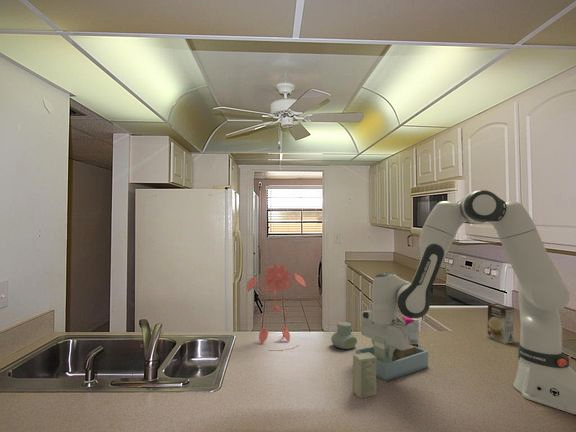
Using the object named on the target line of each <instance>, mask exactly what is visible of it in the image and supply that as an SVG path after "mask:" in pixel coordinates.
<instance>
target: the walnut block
mask: <svg viewBox="0 0 576 432" xmlns="http://www.w3.org/2000/svg"><path fill="white" fill-rule="evenodd" d="M416 347H417V346H413V345H410V344H409V348H408V349H406V350H403V351H401V350H398V349H395V350H394V352H393V357H392V361H396V360H399V359H402V358H405V357H408V356H411V355H414V354H416Z"/></svg>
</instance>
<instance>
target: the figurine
mask: <svg viewBox="0 0 576 432" xmlns="http://www.w3.org/2000/svg"><path fill="white" fill-rule="evenodd" d="M266 271H267V273H265V274H264V275H263V279H264V281H263V286H264V287H269V288H267V289H264V288H263V286H262V285H261V284H260V283H259V282H258V280H257V278H256V276H253V277H251V278H250V279H249V280H248V281H247V284H246V289H247V292H250V291H251V290H252V289H254V288H255V286H256V283H257V285H258V286H259V287H260V288H261V290H262V291H263V292H267V291H270V292H271V293H273V299H274V304H275V306H273V308H272V309H271V310H270V311H268V312H264V313H263V314H262V317H263V319H262V320H263V322H265V315H266V314H269V313H271V312H273V311H274V312H275V313H277V312H282V313H284V314H285V316H287V312H286V311H283V310H281V309H280V307H279V306H278V304H277V301H276V292H279V293H281V292H282V290H289V288H290V287H291V284H292V283H293V281H294V279H295V281H296V282H297V283H298V284H299V285H301V286H303V287H304V288H306V287H307V286H306V281H305V280H304V278H303V277H302V276H301V275H300V274H298V273H296V272H294V273H293V276H291V275H290V272H291V270H290V269H286V266H285V264H284V263H281V264H280V265H277V264H273V266H267V267H266ZM288 282H289V283H288ZM284 318H285V319H284V320H285V321H284V326H283V327H282V329H281V331H282V333H281V334H282V337H281V338H282V339H285V340H286V341H287V342H290V341H291V340H290V339H291V333H290V331H289V329H288V328H287V327H286V326H287V317H284ZM265 324H266V323H263V328H261V330H259V333H258V340H259V342H260V344H264V343H265V341H266V340H267V339H268V336H269V330H268V328H266V327H265ZM297 347H298V345H296V346H295V347H292V348H287V349H286V351H288V350H291V349H295V348H297ZM270 351H271V352H273V351H275V352H276V351H279V352H283V349H281V350H280V349H277V350H276V349H275V350H272V349H270Z"/></svg>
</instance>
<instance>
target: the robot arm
mask: <svg viewBox="0 0 576 432" xmlns="http://www.w3.org/2000/svg"><path fill="white" fill-rule="evenodd" d="M485 223H489V224H490V225H491V226H493V228H494V229H495V230H496V234H497V235H498V238H499V241H500V243H501V246H502V248H503V251H504V253H505V255H506V258H507V260H508V262H509V264H510V266H511V267H512V270H513V271H514V274H515V276H516V278H517V280H518V282H517V290H518V293H517V294H518V305H519V306H518V308H519V317H520V318H519V319H520V323H519V324H520V327H519V328H520V331H519V333H520V335H519V338H520V339H519V343H518V348H517V360H518V366H517V372H516V376H515V379H514V382H513V384H512V385H513V387H514V388H515V389H516V390H517V391H518V392H520V394H521V395H522V397H523V398H525V399H526V400H529V401H532V402H536V403H539V404H541V405H545V406H547V407H550V408H554V409H557V410H559V411H560V410H561V411H563V412H566V413H569V414H572V415H576V371H575V370H574V369H573V368H572V367H571V366H570V361H571V358H572V357H571V355H566V353H564V352H563V350H562V349H563V326H562V325H563V324H562V322H561V316H560V311H561V310H562V309H564V308H565V307H567V305H568V303H569V302H570V292H569V289H568V288H567V285H566V283H565V282H564V280H563V278H562V276H561V274H560V272H559V270H558V268H557V267H556V265H555V264H554V261H553V260H552V258H551V257H550V255H549V253H548V252H547V249H546V247H545V245H544V243H543V241H542V238H541V236H540V234H539V233H540V232H538V229H537V226H536V225H535V223H534V221H533V218H532V217H531V215H530V214H529V211H527V209H526V208H525V207H524V206H523V204H521V202H518V201H504V200H503V199H501V198H500V197H499V196H498V195H496V194H495V193H494V192H492V191H490V190H486V189H479V190H475V191H472V192H469V193H468V194H466V195H465V196H464V197H463V198H462V199H460V200H459V201H458V202H452V201H450V200H443V201H442V200H441V201H439V202H437V203H436V204H435V205H434V207H433V208H432V210H431V211H430V212H429V215H428V216H427V218H426V220H425V222H424V224H423V226H422V229H421V231H420V234H419V238H418V247H419V251H420V257H419V263H418V266H417V269H416V271H415V273H414V276H413V278H412V280H411V282H410V281H407V280H405V279H403V278H401V277H399V276H398V275H396V274H395V272H382V273H377V274H376V275H375V276H374V278H373V280H372V286H371V287H372V288H371V298H372V305H371V309H369V310H365V311H361V313H360V315H361V319H360V324H359V325H360V327H359V329H360V333H361V335H362V336H363V337H365V338H369V339H371V344H372V346H374V338H375V336H377V337H379V338H382V339H384V340H385V344H386V345H389V349H390V350H389V352H387V353H386V354H387V355H386V356H387V357H389V358H392V357H393V352H394V350H395V349H398V350H401V351H403V350H406V349H408V348H409V337H408V328H407V326H406V325H405V324H404V323H403V321H402V322H401V321H398V320H397V310H398V309H399V311H400V313H401V314H402V315H403V316H406V317H409V318H413V319H416V318H417V319H421V318H423V317H424V316H426V314H427V313H428V312H429V309H430V306H431V299H430V298H431V297H430V296H431V290H432V288H433V285H434V282H435V281H436V278H437V275H438V273H439V270H440V268H441V264H442V262H443V261H444V258H445V256H446V255H447V253H448V251H449V250H450V247H451V245H452V244H453V241H454V239H455V238H456V235H457V233H458V230H459V229H460V227H461V226H462V225H463V224H469V225H470V224H471V225H475V224H476V225H478V224H485ZM397 308H398V309H397Z"/></svg>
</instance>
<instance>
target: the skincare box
mask: <svg viewBox="0 0 576 432" xmlns="http://www.w3.org/2000/svg"><path fill="white" fill-rule="evenodd" d="M352 355H353V356H352V359H353V361H352V392H353V394H354V395H355V396H357V398H359V399H361V398H367V397H373V396H376V395H377V377H376V361H377V357H375V356H374V355H373V354H371V353H370V352H366V353H359V354H355V353H353V354H352Z"/></svg>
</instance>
